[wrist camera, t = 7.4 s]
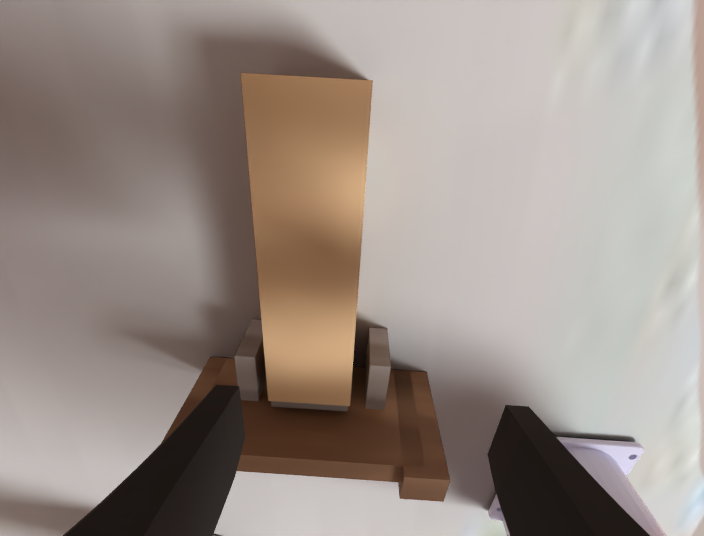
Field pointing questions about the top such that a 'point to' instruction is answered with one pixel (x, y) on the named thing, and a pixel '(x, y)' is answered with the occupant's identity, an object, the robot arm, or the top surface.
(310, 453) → the wooden base
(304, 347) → the tan wooden bar
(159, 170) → the top surface
